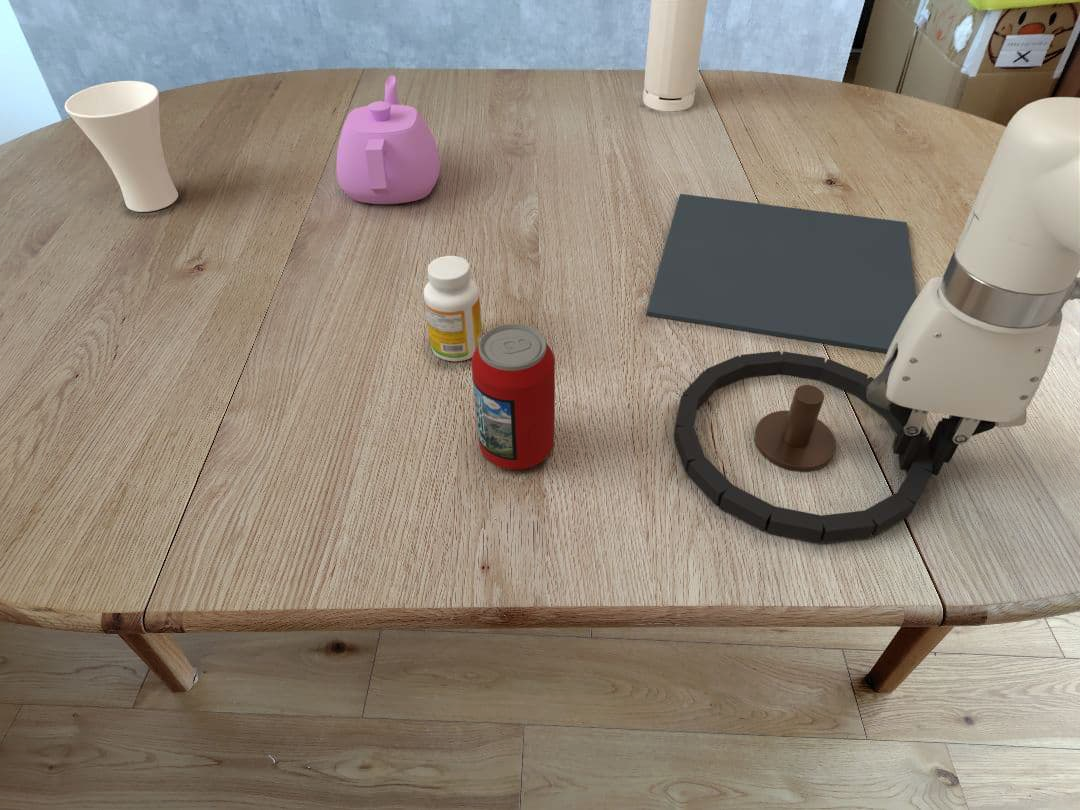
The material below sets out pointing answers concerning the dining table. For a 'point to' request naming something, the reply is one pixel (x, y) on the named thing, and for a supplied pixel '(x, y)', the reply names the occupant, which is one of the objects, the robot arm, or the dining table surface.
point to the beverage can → (514, 396)
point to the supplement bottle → (452, 309)
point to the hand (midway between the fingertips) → (917, 459)
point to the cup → (127, 139)
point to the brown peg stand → (797, 434)
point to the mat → (785, 272)
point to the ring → (777, 517)
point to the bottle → (673, 53)
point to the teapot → (387, 152)
